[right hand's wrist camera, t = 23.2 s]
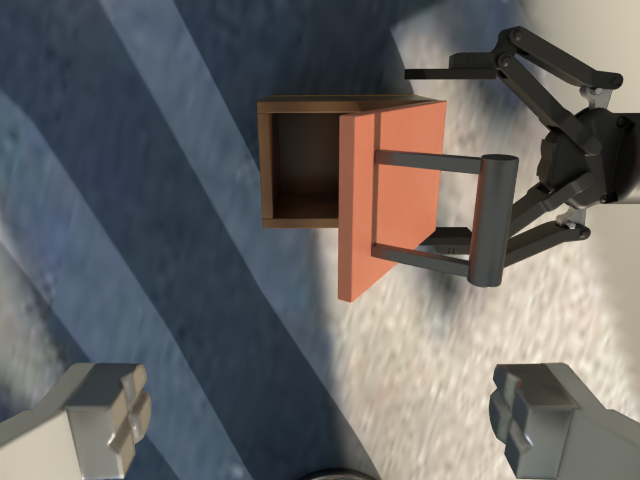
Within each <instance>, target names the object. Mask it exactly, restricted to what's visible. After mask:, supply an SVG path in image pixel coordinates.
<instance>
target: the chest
mask: <svg viewBox="0 0 640 480" xmlns="http://www.w3.org/2000/svg"><path fill="white" fill-rule="evenodd" d="M429 101H435V99H431V98H426V97H422V96H417V95H272V96H268V97H266V98H264V99H261V100H259V101H257V121H258V141H259V160H260V180H261V199H262V218H263V228H339V126H340V115H345V114H351V113H358V112H364V111H371V110H377V109H384V108H390V107H396V106H403V105H409V104H416V103H422V102H429Z"/></svg>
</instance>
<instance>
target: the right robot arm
mask: <svg viewBox="0 0 640 480" xmlns="http://www.w3.org/2000/svg"><path fill="white" fill-rule="evenodd" d="M146 381H147V376H146V371H145V367H144V366H143V365H142V364H129V363H76V364H73V365H72V366H71V367H70V368H69V369H68V370H67V371H66V372H65V374H64V375H63V376H62V377H61V378H60V379H59V381H58V382H57V383H56V384H55V385H54V386H53V388H52V389H51V390H50V391H49V392H48V393H47V395H46V396H45V397H44V398H43V399H42V400H41V401H40V403H39V404H38V405H37V406H36V407H35V408H34V410H25V411H23V412H21V413H19V414H17V415H15V416H13V417H11V418H9V419H7V420H5V421H3V422H1V423H0V480H96V479H124V477H125V475H126V472H127V470H128V468H129V466H130V464H131V462H132V460H133V458H134V456H135V454H136V453H135V447H134V444H136V443H137V442H139V441H140V440H141V439H143V438H144V435H145V433H146V431H147V429H148V425H149V421H150V416H151V401H150V395H149V394H148V393H147V392H146V391H145V390H144V389H143V386H144V384H145V382H146ZM493 381H494V382H495V384H496V386H497V389H496V390H495V391H494V392H493V393H492V394H491V395H490V402H489V415H490V422H491V425H492V429H493V431H494V433H495V436H496V438H497V439H499V440H500V441H501V442H503V443H504V444H506V447H505V453H504V454H505V456H506V458H507V460H508V462H509V464H510V466H511V468H512V470H513V472H514V474H515V476H516V478H517V479H544V480H640V423H638V422H637V421H635V420H633V419H631V418H629V417H627V416H625V415H623V414H621V413H619V412H617V411H615V410H606V408H605V407H604V406H603V405H602V404H601V403H600V402H599V400H598V399H597V398H596V397H595V396H594V395H593V393H592V392H591V391H590V390H589V389H588V388H587V386H586V385H585V384H584V383H583V382H582V381H581V379H580V378H579V377H578V376H577V375H576V374H575V373H574V371H573V370H572V369H571V368H570V367H569V366H568V365H567V364H565V363H541V364H497V366H496V368H495V370H494V375H493Z"/></svg>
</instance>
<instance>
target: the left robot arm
mask: <svg viewBox="0 0 640 480" xmlns="http://www.w3.org/2000/svg"><path fill="white" fill-rule="evenodd" d="M515 53H516V54H518V55H520V56H522V57H523V58H525V59H527V60H529V61H530V62H532V63H534V64H536V65H537V66H539V67H541V68H543V69H544V70H546V71H548V72H549V73H551V74H553V75H555V76H556V77H558V78H560V79H562V80H563V81H565V82H567V83H569V84H571V85H574V86H578V87H581V88H580V90H579V91H580V93H581V96H582V97H584V98H586V99H587V100H588V101H589V107H587V108H585V109H583V110H582V111H580V112H578V113H577V114H575V115H573V114H572V113H571V112H569V111H568V110H566V109H565V108H563V107H562V106H561V105H560V104H559V103H558V101H557V100H556V99H555V98H554V97H553V96H552V95H551V94H550V93H549V92H548V91H547V90H546V89H545V88H544V87H543V86H542V85H541V84H540V83H539V82H538V81H537V80H536V79H535V78H534V77H533V76H532V75H531V74H530V73H529V72H528V70H527V69H526V68H525V67H524V66H523V65H522V64H521V63H520V62H519V61H518V60H517V59H516V58H515V57H514V55H515ZM496 75H497V76H498V77H499V78H500V79H501V80H502V81H503V82H504V83H505V84H506V85H507V86H508V87H509V88H510V89H511V90H512V91H513V92H514V93H515V94H516V95H517V96H518V97H519V98H520V99H521V100H522V101H523V102H524V103H525V104H526V105H527V107H528V108H529V109H530V110H531V111H532V112H533V113H534V114H535V115H536V116H537V117H538V118H539V121H540V122H541V123H542V124H543V125H544V126H545V127H546V128H547V129H548V130H549V131H550V132H549V133H548V135H547V136H546V138H545V139H542V143H541V160H540V162H539V165H538V168H537V174H536V175H537V176H539V180H540V182H539V183H537V184H536V185H534V186H533V187H532V188H530V189H529V190H528V191H527V194H526V195H525V196H524V197H522V198H521V199H520V200H518V201H517V202H516V203H514V204H513V205H512V212H511V219H510V226H509V233H508V240H507V246H506V253H505V260H504V267H503V268H505V267H508V266H510V265H512V264H515V263H517V262H519V261H522V260H524V259H526V258H529V257H531V256H533V255H535V254H538V253H540V252H542V251H545V250H547V249H549V248H552V247H554V246H556V245H559V244H561V243H563V242H571V241H580V240H585V239H587V238H588V237H589V236H590V234H591V231H590V229H589V228H587V227H586V226H585V216H586V209H587V208H589V207H591V206H593V205H596V204H640V113H612V112H610V111H608V110H607V106H608V103H609V100H610V97H611V93H612V90H615V89H618V88H619V87H620V86H621V85H622V83H623V76H622V75H621V74H619V73H612V72H603V71H596V70H595V69H593V68H591V67H590V66H588V65H586V64H585V63H583V62H581V61H579V60H578V59H576V58H574V57H573V56H571V55H569V54H568V53H566V52H564V51H562V50H561V49H559V48H557V47H556V46H554V45H552V44H551V43H549V42H547V41H545V40H544V39H542V38H540V37H539V36H537V35H535V34H534V33H532V32H530V31H528V30H527V29H525V28H523V27H521V26H517V27H513V28H509V29H504V30H503V31H501V32H500V33H499V36H498V42H497V44H496V47H495V48H494V49H493V51H491V52H489V53H456V54H454V55H451V56H450V58H449V69H405V78H404V79H496ZM550 192H551V193H550ZM563 203H565V204H567V205H569V209H568V211H567V212H566V213H564V214H562V215H558V216H557V217H556V220H555V221H550V222H546V223H544V224H541V225H539V226H537V227H534V228H532V229H530V230H528V231H525V232H523V233H521V234H519V235H516V236H514V237H512V236H513V235H515V234H516V233H517V232H519V231H520V230H522V229H523V228H524V227H526V226H527V225H529V224H530V223H531V222H533V221H534V220H536V219H537V218H538V217H540V216H541V215H543V214H544V213H545V212H548V211H553V210H555V209H556V208H557V207H559V206H560V205H562V204H563ZM510 237H512V238H510ZM471 238H472V232H471V231H470V230H469V229H468V228H467V227H436V230H435V231H434V232H433V233H432V234H431V235H430V236H428V237H427V238H426V239H425V240H424V241H423V242H421V243H420V244H419V245H433V248H434V250H435V251H436V253H439V254H441V255H470V246H471ZM509 238H510V239H509ZM299 480H374V479H373V478H371V477H369V476H367V475H365V474H362V473H359V472H356V471H351V470H344V469H330V470H323V471H318V472H315V473H312V474H309V475H307V476H305V477H303V478H301V479H299Z"/></svg>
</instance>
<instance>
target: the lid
mask: <svg viewBox="0 0 640 480" xmlns="http://www.w3.org/2000/svg"><path fill="white" fill-rule="evenodd" d="M446 103H447V102H446V101H438V100H435V101H429V102H422V103H416V104H409V105H403V106H396V107H390V108H384V109H377V110H371V111H364V112H358V113H351V114H345V115H340V126H339V237H338V299H339V300H343V301H346V302H350V303H352V302H353V301H354V300H356V299H357V298H358V297H359V296H360V295H361V294H362V293H364V292H365V291H366V290H367V289H368V288H369V287H371V286H372V285H373V284H374V283H375V282H376V281H378V280H379V279H380V278H381V277H382V276H383V275H384V274H386V273H387V272H388V271H389V270H390V269H391V268H393V267H394V266H395V265H396V264H397V263H402V264H407V265H412V266H417V267H421V268H426V269H431V270H435V271H440V272H445V273H449V274H454V275H459V276H463V277H467V280H468V282H469V283H471V284H473V285H475V286H478V287H483V288H495V287H498V286H500V284H501V281H502V274H503V267H504V260H505V253H506V246H507V240H508V233H509V226H510V219H511V212H512V205H513V198H514V191H515V184H516V177H517V170H518V163H519V158H518V157H515V156H511V155H502V154H488V155H483V156H481V158H480V157H468V156H456V155H444V154H442V149H443V137H444V126H445V114H446ZM441 170H442V171H452V172H461V173H471V174H479V177H478V186H477V194H476V203H475V212H474V220H473V229H472V238H471V246H470V255H469V261H468V260H462V259H457V258H452V257H447V256H442V255H437V254H432V253H427V252H421V251H416V250H413V249H415V248H416V247H417V246H418V245H419V244H420V243H421V242H423V241H424V240H425V239H426V238H427V237H428V236H430V235H431V234H432V233H433V232H434V231H435V230H436V219H437V207H438V196H439V184H440V172H441Z"/></svg>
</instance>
